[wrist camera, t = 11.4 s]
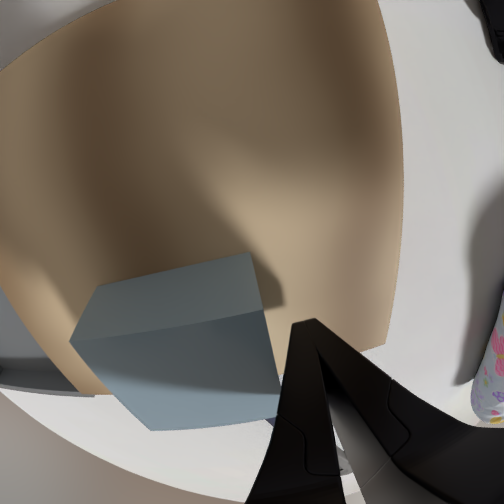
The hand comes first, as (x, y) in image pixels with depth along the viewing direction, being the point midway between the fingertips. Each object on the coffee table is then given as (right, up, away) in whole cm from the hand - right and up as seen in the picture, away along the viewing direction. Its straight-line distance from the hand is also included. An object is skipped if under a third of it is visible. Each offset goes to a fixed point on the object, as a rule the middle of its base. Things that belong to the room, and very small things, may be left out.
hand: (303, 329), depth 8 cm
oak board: (-5, +4, +1) cm, 6 cm away
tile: (-4, 0, +1) cm, 4 cm away
